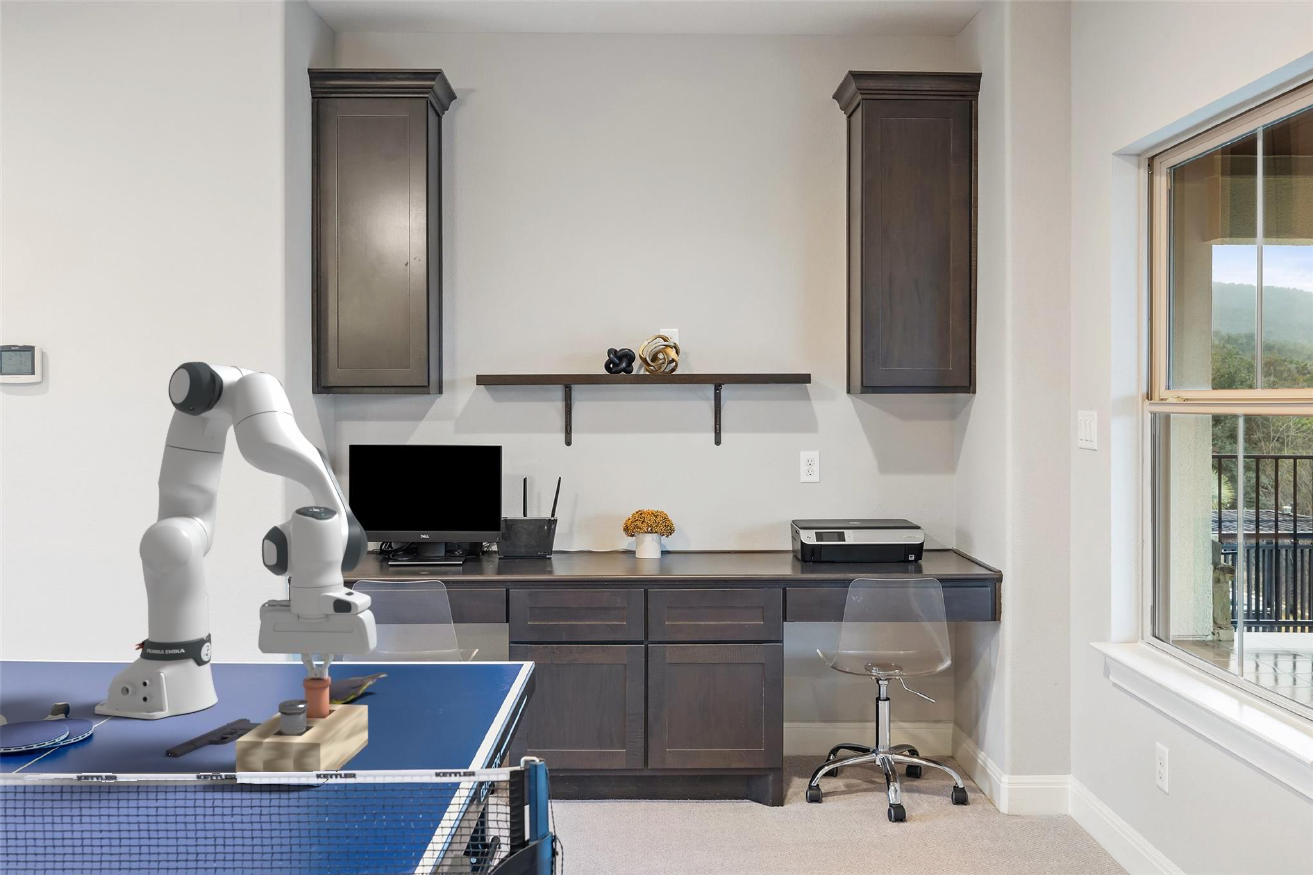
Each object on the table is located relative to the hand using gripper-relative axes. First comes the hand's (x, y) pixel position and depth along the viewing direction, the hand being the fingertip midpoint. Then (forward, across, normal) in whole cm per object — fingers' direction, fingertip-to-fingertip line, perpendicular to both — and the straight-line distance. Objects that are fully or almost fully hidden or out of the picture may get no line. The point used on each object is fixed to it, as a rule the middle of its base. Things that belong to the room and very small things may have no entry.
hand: (318, 678), depth 166 cm
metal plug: (+12, 0, -9) cm, 15 cm away
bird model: (+14, -7, +29) cm, 33 cm away
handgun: (+14, -19, +4) cm, 24 cm away
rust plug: (+10, 0, 0) cm, 10 cm away
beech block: (+13, 0, -5) cm, 14 cm away
